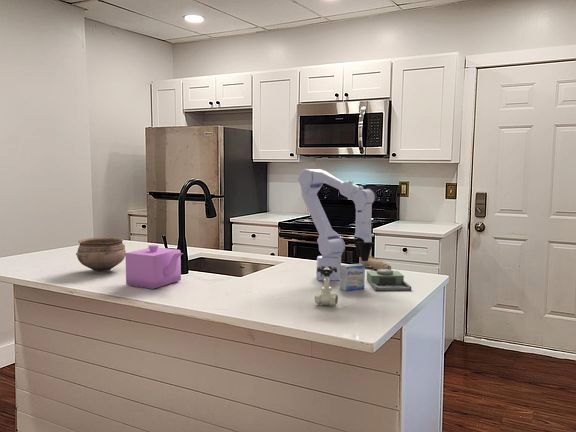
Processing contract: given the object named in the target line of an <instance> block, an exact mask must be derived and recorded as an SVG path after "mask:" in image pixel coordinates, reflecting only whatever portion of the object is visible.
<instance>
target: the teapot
mask: <svg viewBox="0 0 576 432" xmlns="http://www.w3.org/2000/svg"><path fill="white" fill-rule="evenodd" d="M147 247H148V248H143V249H138V250H133V251H130V252H126V254H125V281H126V282H125V285H126V286H131V287H132V286H133V287H138V288H148V289H153V290H155V289H157V288H161V287H165V286H168V285H170V284H174V283H177V282H180V281H182V271H181V270H182V269H181V267H182V265H181V264H182V263H181V262H182V259H181V256H182V255H184V253H183V252H181V250H180V249H174V248H166V247H159V245H158V244H150V245H148V246H147Z"/></svg>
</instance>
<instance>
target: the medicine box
mask: <svg viewBox="0 0 576 432" xmlns="http://www.w3.org/2000/svg"><path fill="white" fill-rule="evenodd" d="M365 272H366V267H365V266H364V265H362V264H361V263H351V264H348V263H347V264H341V265H340V280H339V289H341V290H343V291H346V292H349V291H358V290H359V291H360V290H364V289H365V283H366V282H365V278H366V277H365V276H366V275H365Z"/></svg>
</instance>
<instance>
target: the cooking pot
mask: <svg viewBox="0 0 576 432" xmlns="http://www.w3.org/2000/svg"><path fill="white" fill-rule="evenodd" d="M123 241H124V238H122V237H114V236H113V237H111V236H110V237H107V236H106V237H92V238H91V237H90V238H84V239H81V240H78V243H79V246H78V248H77V251H76V253H75V255H76V257H77V260H78V262H79V263H80V264H81V265H82V266H84V267H86V268H88V269H90V270H93V271H94V272H107V271H111V270H112V269H113V268H115V267H117V266H119V264H121V263H122V262H124V260H125V259H126V257H125V254H126V253H127V252H126V249H125V248H126V245H125V244H124V243H123Z"/></svg>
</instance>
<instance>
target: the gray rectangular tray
mask: <svg viewBox="0 0 576 432" xmlns="http://www.w3.org/2000/svg"><path fill="white" fill-rule="evenodd" d="M370 286H371V287H372V289H373V290H374V291H375V292H402V291H403V292H406V291H407V292H408V291H409V292H410V291H412V286H411V285H410V284H409V283H408V282H407V281H405V280H404V281H402V284H375V283H374V282H373V281H371V284H370Z"/></svg>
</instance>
